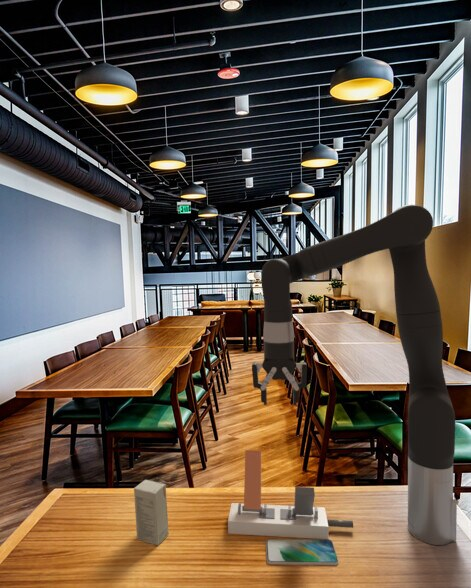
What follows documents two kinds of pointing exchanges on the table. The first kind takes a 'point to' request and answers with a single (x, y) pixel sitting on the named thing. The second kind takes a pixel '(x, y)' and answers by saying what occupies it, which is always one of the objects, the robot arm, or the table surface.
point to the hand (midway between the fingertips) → (279, 403)
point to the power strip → (282, 522)
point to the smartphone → (300, 552)
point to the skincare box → (151, 511)
